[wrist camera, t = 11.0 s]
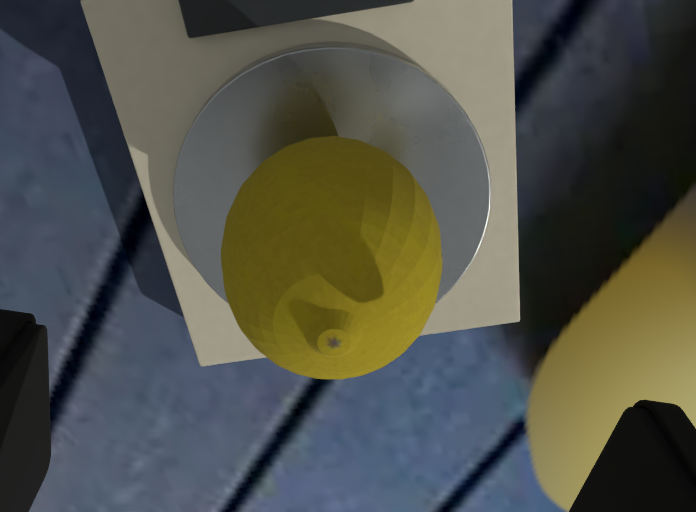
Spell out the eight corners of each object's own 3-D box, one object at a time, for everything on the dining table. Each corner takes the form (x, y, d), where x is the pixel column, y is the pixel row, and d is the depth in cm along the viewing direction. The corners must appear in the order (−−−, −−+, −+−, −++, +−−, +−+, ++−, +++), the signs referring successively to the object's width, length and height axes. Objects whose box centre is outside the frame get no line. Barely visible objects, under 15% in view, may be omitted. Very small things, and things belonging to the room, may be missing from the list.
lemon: (455, 168, 20) (528, 313, 13) (351, 295, 22) (364, 480, 15) (304, 63, 18) (292, 162, 11) (207, 211, 20) (144, 375, 13)
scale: (103, -10, 20) (69, 4, 17) (492, -75, 19) (518, -72, 17) (209, 332, 26) (196, 381, 23) (505, 290, 25) (526, 334, 23)
